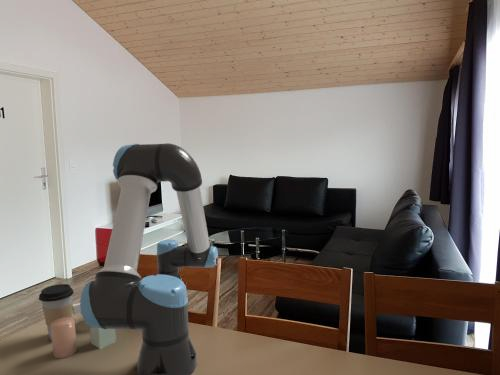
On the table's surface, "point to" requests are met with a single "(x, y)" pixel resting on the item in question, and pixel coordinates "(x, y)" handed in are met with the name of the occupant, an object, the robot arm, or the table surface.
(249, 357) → the table surface
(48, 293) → the coffee cup
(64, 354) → the peach rounded cylinder
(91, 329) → the sage tin
